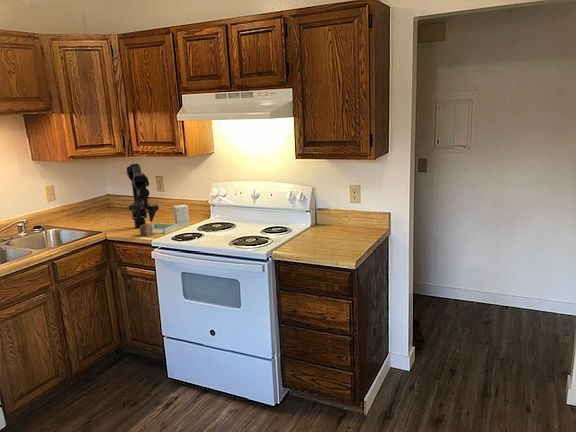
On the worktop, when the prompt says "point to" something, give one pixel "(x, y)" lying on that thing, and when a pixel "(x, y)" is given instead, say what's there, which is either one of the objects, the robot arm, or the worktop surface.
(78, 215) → the worktop surface
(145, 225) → the walnut block
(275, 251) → the worktop surface
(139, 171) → the robot arm
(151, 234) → the mat
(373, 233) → the worktop surface
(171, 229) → the crate
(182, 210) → the small box
